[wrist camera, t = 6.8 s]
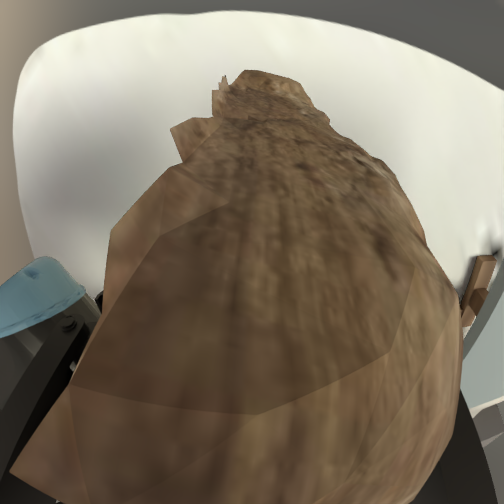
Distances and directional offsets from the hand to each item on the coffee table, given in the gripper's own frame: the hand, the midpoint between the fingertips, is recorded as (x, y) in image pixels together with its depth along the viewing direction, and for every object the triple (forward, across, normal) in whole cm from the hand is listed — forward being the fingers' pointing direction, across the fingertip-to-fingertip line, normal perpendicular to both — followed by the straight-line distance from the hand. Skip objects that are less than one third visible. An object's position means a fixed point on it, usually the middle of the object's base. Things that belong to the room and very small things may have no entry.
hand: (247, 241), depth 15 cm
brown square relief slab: (+2, 0, 0) cm, 2 cm away
